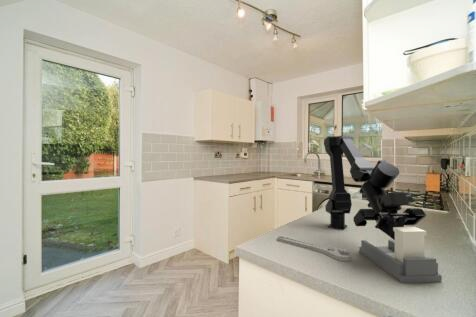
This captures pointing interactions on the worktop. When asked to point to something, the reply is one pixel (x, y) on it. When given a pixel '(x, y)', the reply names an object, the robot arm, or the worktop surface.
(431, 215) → the worktop surface
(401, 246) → the switch tab
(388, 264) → the switch housing
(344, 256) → the adjustable wrench
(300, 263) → the worktop surface
